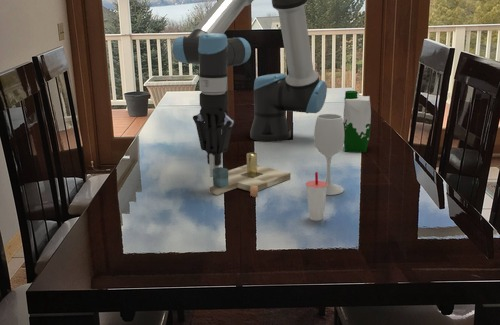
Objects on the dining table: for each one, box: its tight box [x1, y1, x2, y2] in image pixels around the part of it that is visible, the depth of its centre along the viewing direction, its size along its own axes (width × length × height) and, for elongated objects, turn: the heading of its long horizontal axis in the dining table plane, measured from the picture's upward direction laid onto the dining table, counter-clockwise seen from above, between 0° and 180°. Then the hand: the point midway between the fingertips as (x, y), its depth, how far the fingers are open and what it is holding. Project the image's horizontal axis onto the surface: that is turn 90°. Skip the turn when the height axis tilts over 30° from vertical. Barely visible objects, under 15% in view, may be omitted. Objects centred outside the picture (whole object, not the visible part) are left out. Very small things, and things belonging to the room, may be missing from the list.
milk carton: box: [342, 90, 372, 154], centre depth 208 cm, size 9×9×20 cm
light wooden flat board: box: [208, 164, 292, 196], centre depth 177 cm, size 16×24×6 cm, turn 138°
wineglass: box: [313, 113, 345, 196], centre depth 168 cm, size 9×9×21 cm
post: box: [246, 152, 258, 178], centre depth 180 cm, size 3×3×8 cm
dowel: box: [249, 186, 259, 198], centre depth 168 cm, size 2×2×3 cm
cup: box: [305, 171, 328, 222], centre depth 150 cm, size 5×5×12 cm
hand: (214, 175), depth 172 cm, fingers closed
